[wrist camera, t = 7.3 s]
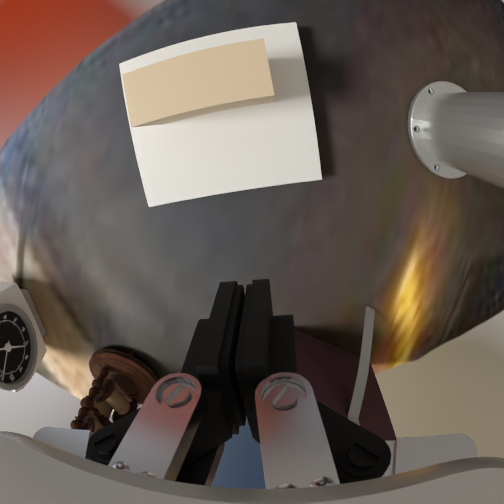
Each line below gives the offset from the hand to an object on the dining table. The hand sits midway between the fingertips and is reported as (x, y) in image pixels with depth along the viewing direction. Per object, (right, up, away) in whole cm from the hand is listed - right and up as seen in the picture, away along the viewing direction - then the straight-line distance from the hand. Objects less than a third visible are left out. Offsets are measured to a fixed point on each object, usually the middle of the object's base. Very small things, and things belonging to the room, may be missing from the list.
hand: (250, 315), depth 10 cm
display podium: (-4, +18, +19) cm, 27 cm away
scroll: (-24, -21, +39) cm, 50 cm away
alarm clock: (-45, -10, +35) cm, 58 cm away
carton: (-4, +15, +14) cm, 21 cm away
